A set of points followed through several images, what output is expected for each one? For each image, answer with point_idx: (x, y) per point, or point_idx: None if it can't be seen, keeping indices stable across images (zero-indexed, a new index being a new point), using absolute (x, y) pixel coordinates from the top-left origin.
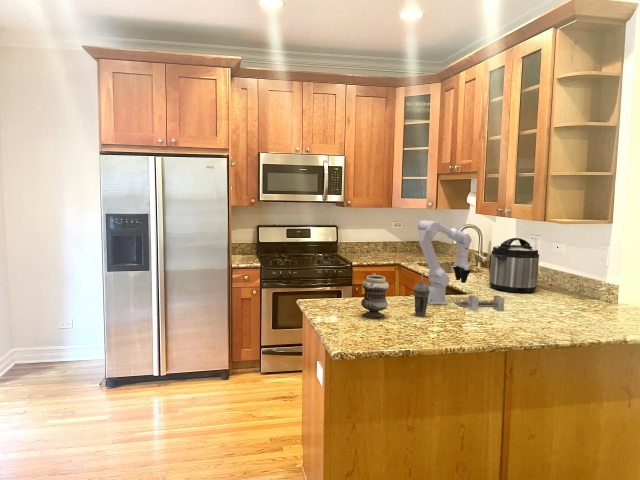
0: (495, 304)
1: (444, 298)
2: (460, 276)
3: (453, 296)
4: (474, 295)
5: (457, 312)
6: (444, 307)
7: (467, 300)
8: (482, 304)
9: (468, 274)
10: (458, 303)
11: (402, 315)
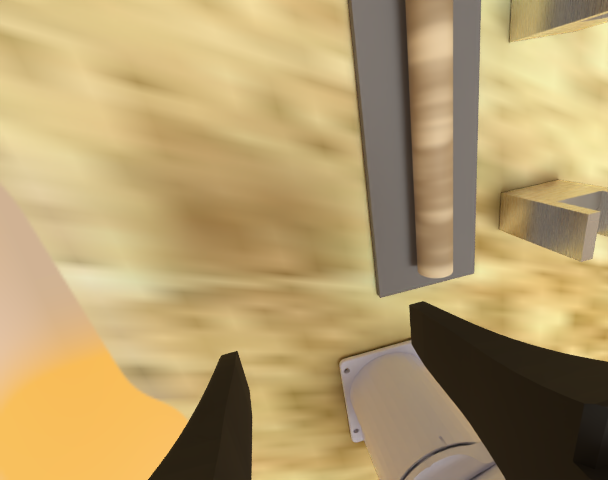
0: (578, 24)
1: (427, 373)
2: (232, 388)
3: (140, 280)
4: (591, 216)
5: (580, 296)
6: None
7: (452, 232)
8: None
9: (555, 354)
10: (415, 276)
11: None
